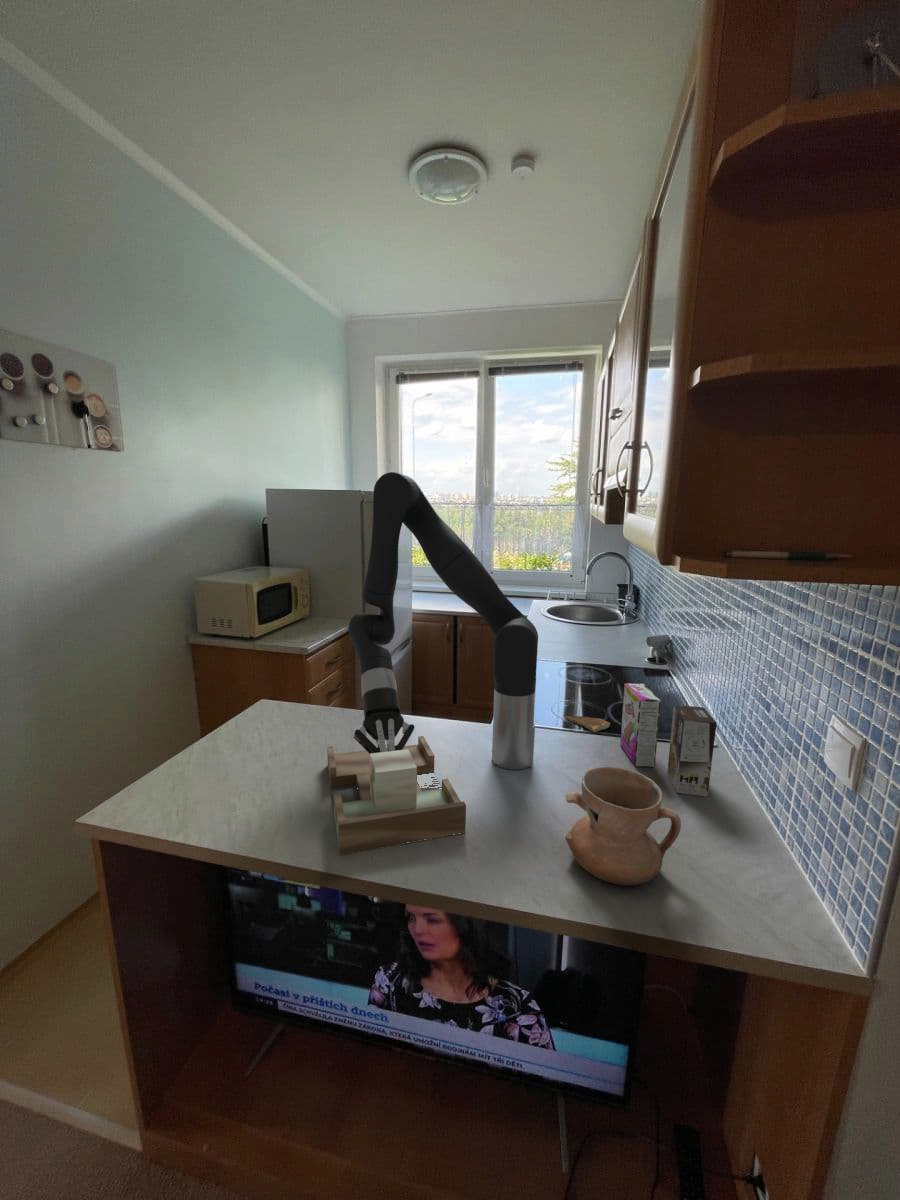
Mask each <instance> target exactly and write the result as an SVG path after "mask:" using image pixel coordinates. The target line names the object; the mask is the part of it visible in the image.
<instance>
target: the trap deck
mask: <svg viewBox="0 0 900 1200" xmlns="http://www.w3.org/2000/svg"><path fill="white" fill-rule="evenodd" d="M417 739H418V740H417V741H418V742H417V744H411V745H410V744H409V745H405V746H404V748H403V749H402V750H406V749H408V750H409V752H410V754H411V756H412V758H413V760H414V762H415V765H416V767H417V775H422V774H429V773H434V774H435V754H434V752H433V750H432V748H431V747H430V745H429V743H428V742H427V740H426V738H425V737H424V735H421V736H418V738H417ZM326 749H327V750H326V753H327V769H328V770H327V772H328V771H329V772H328V779H329V778H330V779H329V784H330V786H331V787H330V786H329V787H330V792H331V793H330V794H331V801H332V808H333V809H334V810H333V815H334V816H333V817H334V822H335V823H334V824H335V831H336V837H337V838H336V839H337V846H338V847H337V848H338V854H339V856H343V855H348V853H349V854H354V853H353V852H355V853H360V852H365V850H366V851H372V850H377V849H376V848H378V849H382V848H381V847H384V848H387V846H389V847H394V846H393V845H395V846H398V845H397V844H401V845H403V844H402V843H407V842H412V843H414V842H413V841H418V842H420V841H419V840H424V839H430V838H436V839H438V838H437V837H441V838H443V837H442V836H447V837H449V836H448V835H453V834H459V833H464V834H466V821H467V820H466V819H467V818H466V817H467V804H466V803H465V801H461V799H460V798H459V796H458V794H457V792H456V791H455V788H454V787H453V785H452V784H451V782H450V780H449V779H448V778H442V779H441V782H440V781H439V780H438V781H432V782H439V783H433V784H440V785H441V787H438V788H429V787H435V786H438V785H433V784H432V785H429V787H427V788H420V786H419V784H418V782H417V808H412V809H406V810H399V811H392V812H386V813H379V814H376V813H375V809H374V805H373V801H372V797H371V793H370V754H369V753H368V752H367V751H366V750H360V751H351V752H342V753H341V752H340V753H335V752H334V750H335V749H334V746H333V745H331V746H327V748H326ZM386 750H387V747H386ZM431 778H435V777H431ZM437 779H438V778H437ZM437 779H433V780H437ZM425 784H426V783H425ZM424 786H427V785H424ZM421 787H422V786H421ZM357 788H358V789H357ZM439 788H442V789H439ZM459 835H460V834H459ZM453 836H454V835H453ZM430 840H431V839H430ZM424 841H425V840H424ZM407 844H408V843H407ZM371 849H372V850H371ZM359 851H360V852H359ZM342 854H343V855H342Z"/></svg>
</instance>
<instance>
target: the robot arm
mask: <svg viewBox="0 0 900 1200" xmlns="http://www.w3.org/2000/svg"><path fill="white" fill-rule="evenodd" d="M372 496H373V497H372V499H373V500H372V504H373V505H372V530H371V542H370V551H369V559H368V564H367V570H366V575H365V580H364V586H363V592H362V600H363V601H364V602H365V603H366V604H368V605H371V606H374V607H376V608H379V614H377V613H376V614H373V613H366V612H365V613H363V612H362V613H361V612H360V613H359V612H358V613H356V614H354V615H353V616H352V617H351V619H349V622H348V623H349V624H348V634H349V638H350V641H351V643H352V645H353V647H354V649H355V652H356V655H357V657H358V661H359V664H360V665H359V667H360V672H361V673H360V674H361V684H360V685H361V697H362V706H363V715H364V716H363V717H364V719H363V722H362V726H361V727H360V728H359V729H355V730H354V734H353V739H354V740H355V741H356V742H357V743H358V744H359V745H360V746H361V747H362V748H363V749H364V751H367V752H368V753H369V754H371V753H380V752H388V751H397V750H402V749H403V748H404V746H406V744H407V743H408V741H409V739H410V738H411V735H412V734H413V733H414V730H415V727H416V726H415V725H414V724H409V723H407V722H406V721H405V719H404V717H403V716H402V714H401V709H400V702H399V694H398V688H397V681H396V677H395V673H394V667H393V660H392V655H391V653H390V651H389V650H388V649H387V648H385V647H382V646H386V645H389V644H390V643H391V642H392V640H393V639H394V637H395V631H396V630H395V629H396V627H395V625H396V624H395V616H394V597H395V593H396V592H395V591H396V586H397V580H398V574H399V543H400V534H401V530H402V525H403V524H404V526H405V527H406V528H407V529H408V530H409V531H410V532H411V534H412V535H413V536H414V537H415V539H416V540H417V542H418V543H419V546H420V547H421V550H422V551H423V554H424V555H425V558H426V559H427V561H428V562H429V565H430V566H431V568H432V569H433V571H434V572H435V573H436V575H437V576H438V577H439V578H440V579H441V581H442V582H443V583H444V584H445V586H446V587H447V588H448V589H449V590H450V591H451V592H452V593H453V594H454V595H455V596H457V597H458V599H460V601H463V603H465V604H466V605H468V606H469V607H470V608H472V609H473V610H474V611H475V612H476V613H477V614H478V615H479V616H480V617H481V618H482V619H483V620H484V621H485V622H486V624H487V625H488V627H489V628H490V630H491V631H492V633H493V634H494V635H495V638H494V640H495V641H494V650H493V651H494V653H493V654H494V656H493V657H494V659H493V660H494V661H493V680H494V685H493V686H494V688H493V689H494V690H493V718H492V720H493V721H492V743H491V744H492V745H491V761H492V760H493V761H492V762H493V764H494V765H496V764H497V765H498V766H497V765H496V766H497V767H499V766H501V767H500V768H502V767H503V768H502V769H505V768H506V769H505V770H510V771H511V770H512V771H513V770H515V771H516V770H524V769H526V768H527V769H528V768H533V767H534V757H535V756H534V754H535V733H536V732H535V731H536V727H535V723H534V721H535V708H536V707H535V703H536V689H537V687H536V685H537V667H538V665H537V664H538V645H539V634H538V630H537V628H536V626H535V625H534V623H532V622H531V621H530V620H529V619H528V617H527V616H525V615H524V614H523V613H522V612H521V611H520V610H519V609H518V608H517V607H516V606H515V605H514V604H513V603H512V602H511V601H510V600H509V599H508V598H507V597H506V595H505V594H504V593H503V592H502V590H501V588H500V587H499V586H498V585H497V582H495V580H494V578H493V577H492V576H491V574H490V573H489V571H487V569H486V568H485V566H484V565H483V564H482V563H481V561H480V560H479V558H478V557H477V556H476V555H475V554H474V552H472V551H473V550H471V549H470V547H469V546H468V545H467V544H466V543H465V542H464V541H463V540H462V539H461V538H460V537H459V535H458V534H457V533H456V532H455V531H454V530H453V529H452V528H451V527H450V526H449V525H448V524H447V523H446V522H445V521H444V520H443V519H442V518H441V517H440V516H439V514H438V512H437V511H436V510H435V509H434V507H433V506H432V505H431V503H430V502H429V500H428V499H427V497H426V496H425V494H424V493H423V491H422V489H421V488H420V486H419V485H418V483H417V482H416V481H415V480H414V479H413V478H412V477H411V476H408V475H406V474H404V473H401V472H398V471H397V472H396V471H395V472H394V471H390V472H386V473H383V474H382V475H381V476H380V477H378V479H377V480H376V482H375V484H374V487H373V494H372ZM401 729H402V730H401ZM400 730H401V732H402V734H403V735H402V737H401V739H400V740H399V742H398V743H397V744H396V743H395V742H396V741H395V738H396V737H397V735H398V734H399V732H400ZM367 734H368V735H369V736H370V737H371V738H372V739H373V740H374V741H375V742H376V745H375V743H373V742H372V741H371V740H370V739H369V738H368V737H367ZM386 748H387V750H386Z"/></svg>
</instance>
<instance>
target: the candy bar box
mask: <svg viewBox="0 0 900 1200" xmlns="http://www.w3.org/2000/svg"><path fill="white" fill-rule="evenodd" d="M622 702H623V703H622V717H621V729H620V742H619V746H620V747H621V748H622V750H623V751H624V753H625V754H626V756H627V757H628V759H629V760H630V761H631V763H632V765H633V766H634V767H638V768H656V756H657V747H658V746H657V745H658V734H659V733H658V732H659V724H660V723H659V722H660V713H661V712H660V710H661V702H662V701H661V699H660V698H659V697H657V695H655V693H654V692H652V690H651V689H649V687H648V686H646V685H645V683H633V682H632V683H630V682H629V683H628V682H626V683H624V689H623V700H622Z"/></svg>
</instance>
